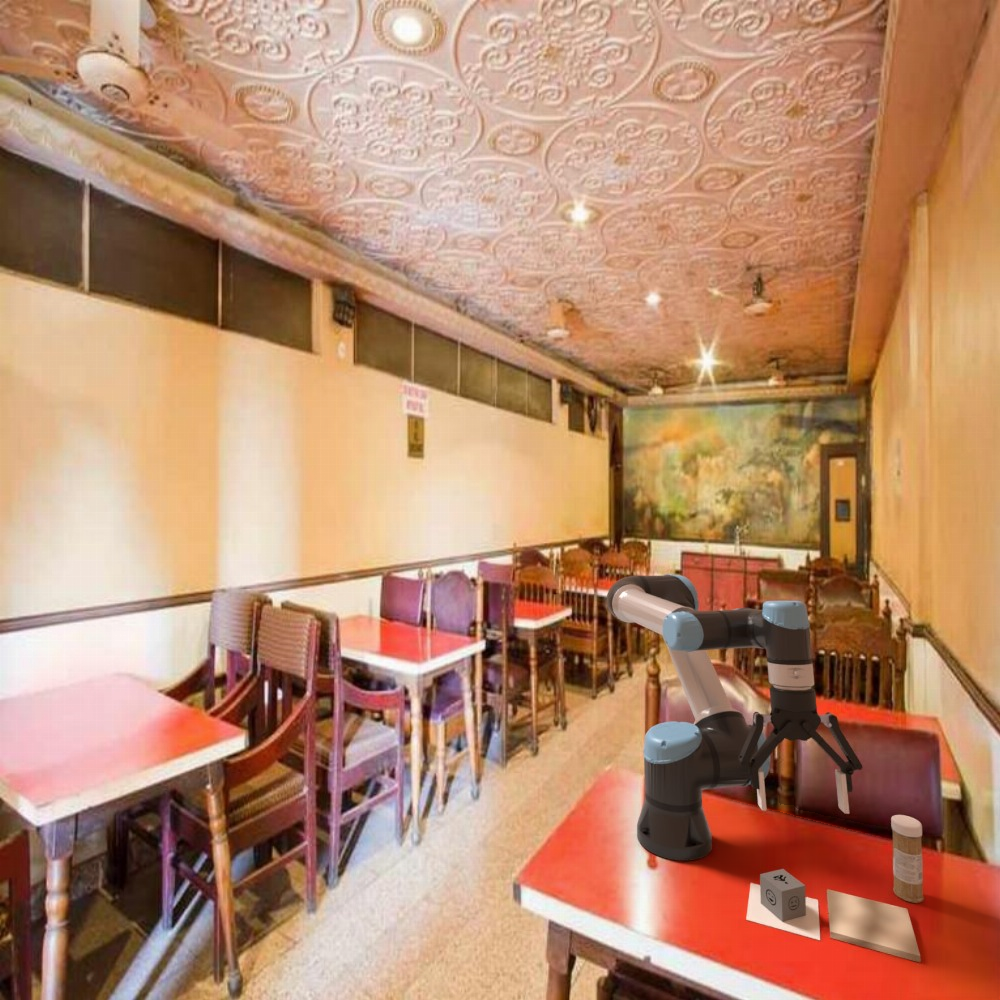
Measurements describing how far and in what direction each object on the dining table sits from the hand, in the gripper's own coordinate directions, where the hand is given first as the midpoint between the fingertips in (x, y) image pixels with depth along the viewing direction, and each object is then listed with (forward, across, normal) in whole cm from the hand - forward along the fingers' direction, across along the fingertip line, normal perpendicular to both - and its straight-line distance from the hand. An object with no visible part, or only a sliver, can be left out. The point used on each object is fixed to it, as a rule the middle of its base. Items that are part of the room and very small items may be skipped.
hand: (802, 809), depth 104 cm
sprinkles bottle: (+16, +18, +6) cm, 25 cm away
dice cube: (+16, -5, -2) cm, 17 cm away
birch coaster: (+17, +8, -4) cm, 19 cm away
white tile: (+16, -5, -2) cm, 17 cm away
